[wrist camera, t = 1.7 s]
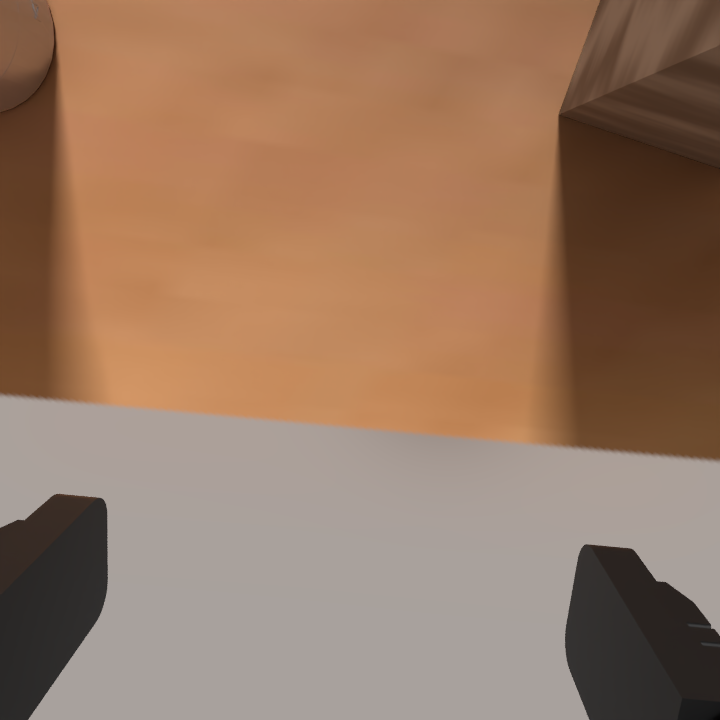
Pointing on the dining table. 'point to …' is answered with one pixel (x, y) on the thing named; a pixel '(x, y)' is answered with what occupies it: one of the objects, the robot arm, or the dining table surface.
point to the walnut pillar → (652, 75)
